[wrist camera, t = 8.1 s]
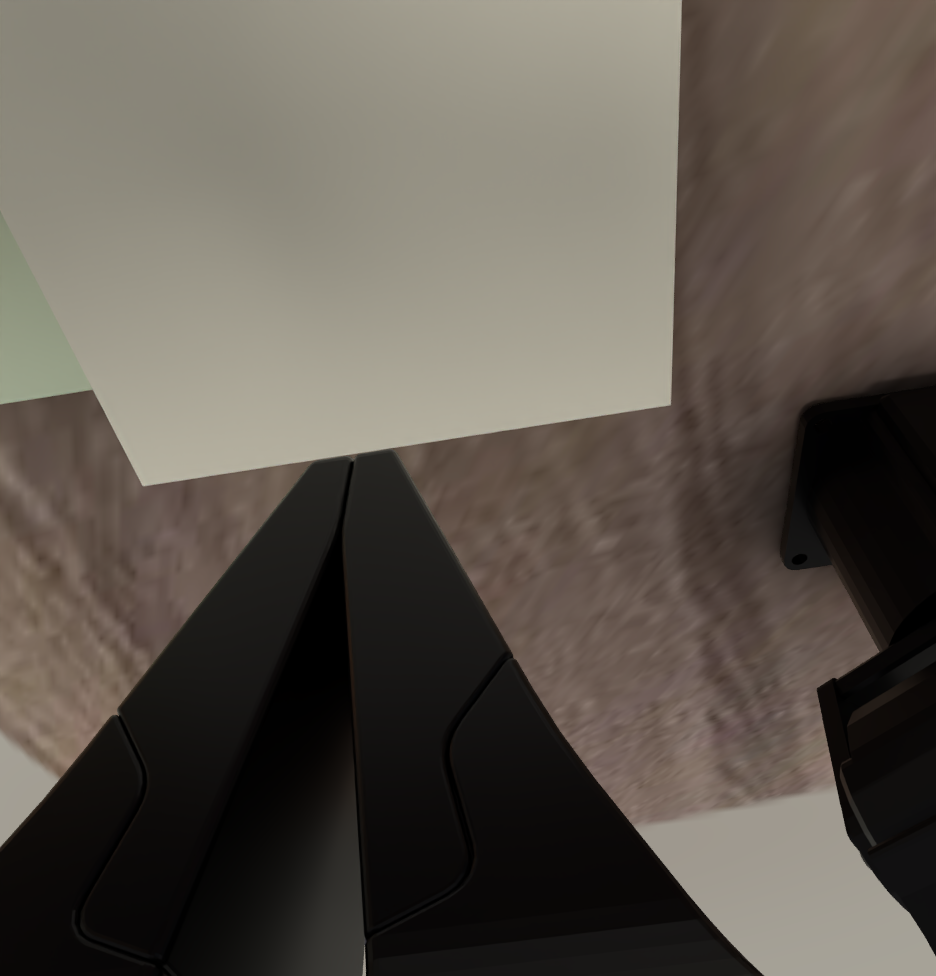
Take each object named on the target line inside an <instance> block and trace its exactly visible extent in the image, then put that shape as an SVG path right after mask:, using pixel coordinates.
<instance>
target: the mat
mask: <svg viewBox="0 0 936 976" xmlns="http://www.w3.org/2000/svg"><path fill="white" fill-rule="evenodd" d="M87 390H93V389H92V387H91V385H90V383H89V381H88V379H87V377H86V375H85V374H84V372H83V370H82V368H81V366H80V364H79V362H78V360H77V358H76V356H75V354H74V352H73V350H72V348H71V347H70V345H69V343H68V341H67V339H66V337H65V335H64V333H63V331H62V329H61V327H60V325H59V323H58V321H57V319H56V318H55V316H54V314H53V312H52V310H51V308H50V306H49V304H48V302H47V300H46V298H45V296H44V294H43V292H42V291H41V289H40V287H39V285H38V283H37V281H36V279H35V277H34V275H33V273H32V271H31V269H30V267H29V265H28V264H27V262H26V260H25V258H24V256H23V254H22V252H21V250H20V248H19V246H18V244H17V242H16V240H15V238H14V236H13V235H12V233H11V231H10V229H9V227H8V225H7V223H6V221H5V219H4V217H3V215H2V213H1V211H0V404H5V403H11V402H18V401H24V400H30V399H37V398H43V397H49V396H56V395H62V394H68V393H75V392H81V391H87Z"/></svg>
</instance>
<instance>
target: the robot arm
mask: <svg viewBox="0 0 936 976" xmlns="http://www.w3.org/2000/svg"><path fill="white" fill-rule="evenodd" d="M823 419H825V420H824V421H823V422H822V423H820V424H818V425H815V424H816V423H817V422H818V421H820V420H823ZM780 557H781V559H782V561H783V563H784V565H785V566H786V567H787V568H788V569H791V570H800V569H806V568H813V567H820V566H827V565H833V566H834V568H835V570H836V572H837V574H838V575H839V577H840V579H841V581H842V583H843V585H844V587H845V589H846V590H847V592H848V594H849V596H850V598H851V600H852V602H853V603H854V605H855V607H856V609H857V611H858V613H859V615H860V616H861V618H862V620H863V622H864V624H865V626H866V628H867V629H868V631H869V633H870V635H871V637H872V639H873V641H874V642H875V644H876V646H877V648H878V650H879V653H878V654H876V655H875V656H873V657H871V658H870V659H868V660H867V661H865V662H864V663H862V664H861V665H859V666H857V667H856V668H854V669H853V670H851V671H850V672H848V673H847V674H845V675H843V676H842V677H840V678H839V679H836V678H832V679H831V680H829V681H828V682H826V683H825V684H823V685H821V686H820V687H818V688H817V694H818V698H819V703H820V708H821V713H822V719H823V724H824V728H825V733H826V738H827V743H828V747H829V752H830V757H831V762H832V766H833V771H834V776H835V781H836V786H837V791H838V795H839V800H840V805H841V808H842V813H843V818H844V823H845V827H846V831H847V834H848V837H849V838H850V840H851V842H852V843H853V844H854V846H855V847H856V848H857V849H858V850H859V851H860V854H861V857H862V859H863V861H864V862H865V864H866V865H867V866H868V867H869V868H870V869H871V870H872V871H873V873H874V874H875V876H876V877H877V878H878V880H879V881H880V882H881V883H882V885H883V886H884V887H885V888H886V889H887V891H888V892H889V893H890V894H891V895H892V896H893V897H894V898H895V899H896V900H897V901H898V902H899V903H900V905H901V906H903V908H905V909H906V910H907V911H908V912H909V913H910V914H911V916H912V917H913V919H914V920H915V922H916V923H917V925H918V926H919V928H920V930H921V931H922V933H923V934H924V936H925V938H926V939H927V941H928V943H929V945H930V947H931V948H932V950H933V952H934V954H935V956H936V386H932V387H926V388H919V389H913V390H906V391H900V392H893V393H887V394H880V395H873V396H867V397H860V398H854V399H847V400H841V401H834V402H828V403H821V404H817V405H814V406H812V407H810V408H809V409H807V410H806V411H805V412H804V413H803V415H802V417H801V419H800V424H799V430H798V437H797V444H796V450H795V457H794V463H793V470H792V476H791V483H790V489H789V496H788V503H787V509H786V516H785V522H784V529H783V535H782V542H781V548H780ZM117 712H118V715H119V716H117V715H113V716H111V717H110V718H109V719H108V720H107V722H106V723H105V724H104V725H103V727H102V728H101V729H100V730H99V732H98V733H97V734H96V736H95V737H94V738H93V739H92V741H91V742H90V743H89V744H88V746H87V747H86V748H85V749H84V751H83V752H82V753H81V754H80V755H79V757H78V758H77V759H76V760H75V761H74V763H73V764H72V765H71V766H70V768H69V769H68V770H67V771H66V772H65V774H64V775H63V776H62V777H61V778H60V780H59V781H58V782H57V783H56V784H55V786H54V787H53V788H52V789H51V790H50V792H49V793H48V794H47V795H46V797H45V798H44V799H43V800H42V802H40V803H39V805H38V806H37V807H36V808H35V809H34V810H33V811H32V813H30V815H29V816H28V817H27V818H26V819H25V820H24V821H23V822H22V823H21V825H20V826H19V827H18V828H17V829H16V830H15V831H14V832H13V834H12V835H11V836H10V837H9V838H8V839H7V840H6V841H5V842H4V843H3V845H2V846H1V847H0V976H362V974H363V960H364V945H365V958H366V976H764V975H762V973H760V971H758V970H757V969H756V968H755V967H754V966H753V965H752V964H751V963H750V962H749V961H748V960H747V959H746V958H745V957H744V956H743V955H742V954H741V953H740V952H739V951H738V950H737V949H736V948H735V947H734V946H733V945H732V944H731V943H730V942H729V941H728V940H727V939H726V937H725V936H724V935H723V934H722V933H721V932H720V931H719V930H718V929H717V927H716V926H715V925H714V924H713V923H712V922H711V921H710V920H709V919H708V917H707V916H706V915H705V914H704V913H703V912H702V911H701V909H700V908H699V907H698V906H697V904H695V902H694V901H693V900H692V899H691V897H690V896H689V895H688V894H687V893H686V891H685V890H684V889H683V888H682V886H681V885H680V884H679V883H678V881H677V880H676V879H675V878H674V876H673V875H672V874H671V873H670V872H669V870H668V869H667V868H666V866H665V865H664V864H663V863H662V861H661V860H660V859H659V858H658V856H657V855H656V854H655V853H654V851H653V850H652V849H651V848H650V847H649V845H648V844H647V843H646V841H645V840H644V839H643V838H642V837H641V835H640V834H639V833H638V832H637V830H636V829H635V828H634V827H633V825H632V824H631V823H630V822H629V820H628V819H627V818H626V817H625V815H624V814H623V813H622V812H621V810H620V809H619V808H618V807H617V805H616V804H615V803H614V802H613V800H612V799H611V798H610V797H609V795H608V794H607V793H606V792H605V790H604V789H603V788H602V787H601V786H600V784H599V783H598V782H597V781H596V779H595V778H594V777H593V775H592V774H591V773H590V771H589V770H588V769H587V767H586V766H585V764H584V763H583V762H582V760H581V759H580V758H579V756H578V755H577V754H576V752H575V751H574V750H573V748H572V747H571V746H570V744H569V743H568V741H567V740H566V739H565V737H564V736H563V735H562V733H561V732H560V730H559V729H558V727H557V726H556V724H555V723H554V721H553V719H552V718H551V716H550V715H549V713H548V712H547V710H546V708H545V707H544V705H543V704H542V702H541V700H540V699H539V697H538V696H537V694H536V693H535V691H534V689H533V688H532V686H531V684H530V683H529V681H528V679H527V677H526V676H525V674H524V672H523V670H522V669H521V667H520V665H519V663H518V662H517V660H515V659H514V658H513V654H512V652H511V650H510V649H509V647H508V645H507V643H506V642H505V640H504V638H503V636H502V635H501V633H500V631H499V629H498V628H497V626H496V624H495V623H494V621H493V619H492V617H491V616H490V614H489V612H488V610H487V609H486V607H485V605H484V603H483V602H482V600H481V598H480V596H479V595H478V593H477V591H476V589H475V588H474V586H473V584H472V583H471V581H470V579H469V577H468V576H467V574H466V572H465V570H464V569H463V567H462V565H461V563H460V562H459V560H458V558H457V556H456V555H455V553H454V551H453V549H452V548H451V546H450V544H449V543H448V541H447V539H446V537H445V536H444V534H443V532H442V530H441V529H440V527H439V525H438V523H437V522H436V520H435V518H434V516H433V515H432V513H431V511H430V509H429V508H428V506H427V504H426V502H425V501H424V499H423V497H422V496H421V494H420V492H419V490H418V489H417V487H416V485H415V483H414V482H413V480H412V478H411V476H410V475H409V473H408V471H407V469H406V468H405V466H404V464H403V462H402V461H401V459H400V457H399V456H398V454H397V452H395V451H394V450H392V449H387V450H380V451H374V452H368V453H362V454H359V455H357V456H356V457H355V459H353V458H352V457H350V456H343V457H336V458H330V459H323V460H318V461H315V462H313V463H312V464H311V465H310V466H309V467H308V468H307V469H306V470H305V472H304V473H303V474H302V475H301V477H300V478H299V479H298V481H297V482H296V483H295V484H294V486H293V487H292V488H291V489H290V491H289V492H288V493H287V494H286V496H285V497H284V498H283V499H282V501H281V502H280V503H279V505H278V506H277V507H276V508H275V510H274V511H273V512H272V513H271V515H270V516H269V517H268V518H267V520H266V521H265V522H264V524H263V525H262V526H261V527H260V529H259V530H258V531H257V532H256V534H255V535H254V536H253V537H252V539H251V540H250V541H249V543H248V544H247V545H246V546H245V548H244V549H243V550H242V551H241V553H240V554H239V555H238V556H237V558H236V559H235V560H234V561H233V563H232V564H231V565H230V567H229V568H228V569H227V570H226V572H225V573H224V574H223V575H222V577H221V578H220V579H219V580H218V582H217V583H216V584H215V586H214V587H213V588H212V589H211V591H210V592H209V593H208V594H207V596H206V597H205V598H204V599H203V601H202V602H201V603H200V604H199V606H198V607H197V608H196V610H195V611H194V612H193V613H192V615H191V616H190V617H189V618H188V620H187V621H186V622H185V623H184V625H183V626H182V627H181V629H180V630H179V631H178V632H177V634H176V635H175V636H174V637H173V639H172V640H171V641H170V642H169V644H168V645H167V646H166V647H165V649H164V650H163V651H162V653H161V654H160V655H159V656H158V658H157V659H156V660H155V661H154V663H153V664H152V665H151V666H150V668H149V669H148V670H147V672H146V673H145V674H144V675H143V677H142V678H141V679H140V680H139V682H138V683H137V684H136V685H135V687H134V688H133V689H132V691H131V692H130V693H129V694H128V696H127V697H126V698H125V699H124V701H123V702H122V703H121V704H120V706H119V707H118V709H117ZM365 939H366V941H367V942H366V944H365Z"/></svg>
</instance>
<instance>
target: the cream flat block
mask: <svg viewBox="0 0 936 976" xmlns="http://www.w3.org/2000/svg"><path fill="white" fill-rule="evenodd" d="M681 13H682V0H0V211H1V213H2V215H3V217H4V219H5V221H6V223H7V225H8V227H9V229H10V231H11V233H12V235H13V236H14V238H15V240H16V242H17V244H18V246H19V248H20V250H21V252H22V254H23V256H24V258H25V260H26V262H27V264H28V265H29V267H30V269H31V271H32V273H33V275H34V277H35V279H36V281H37V283H38V285H39V287H40V289H41V291H42V292H43V294H44V296H45V298H46V300H47V302H48V304H49V306H50V308H51V310H52V312H53V314H54V316H55V318H56V319H57V321H58V323H59V325H60V327H61V329H62V331H63V333H64V335H65V337H66V339H67V341H68V343H69V345H70V347H71V348H72V350H73V352H74V354H75V356H76V358H77V360H78V362H79V364H80V366H81V368H82V370H83V372H84V374H85V375H86V377H87V379H88V381H89V383H90V385H91V387H92V389H93V391H94V393H95V395H96V397H97V399H98V401H99V402H100V404H101V406H102V408H103V410H104V412H105V414H106V416H107V418H108V420H109V422H110V424H111V426H112V428H113V429H114V431H115V433H116V435H117V437H118V439H119V441H120V443H121V445H122V447H123V449H124V451H125V453H126V455H127V457H128V458H129V460H130V462H131V464H132V466H133V468H134V470H135V472H136V474H137V476H138V478H139V480H140V482H141V484H142V485H143V486H148V485H155V484H161V483H168V482H174V481H181V480H187V479H194V478H200V477H207V476H213V475H220V474H226V473H233V472H239V471H246V470H252V469H259V468H265V467H272V466H278V465H285V464H291V463H298V462H304V461H311V460H317V459H324V458H330V457H337V456H343V455H350V454H356V453H363V452H369V451H376V450H382V449H389V448H395V447H402V446H408V445H415V444H421V443H428V442H434V441H441V440H447V439H454V438H460V437H467V436H473V435H480V434H486V433H493V432H499V431H506V430H512V429H519V428H525V427H532V426H538V425H545V424H551V423H558V422H564V421H571V420H577V419H584V418H590V417H597V416H603V415H610V414H616V413H623V412H629V411H636V410H642V409H649V408H655V407H662V406H668V405H671V383H672V346H673V309H674V272H675V235H676V198H677V161H678V124H679V87H680V50H681Z"/></svg>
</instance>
